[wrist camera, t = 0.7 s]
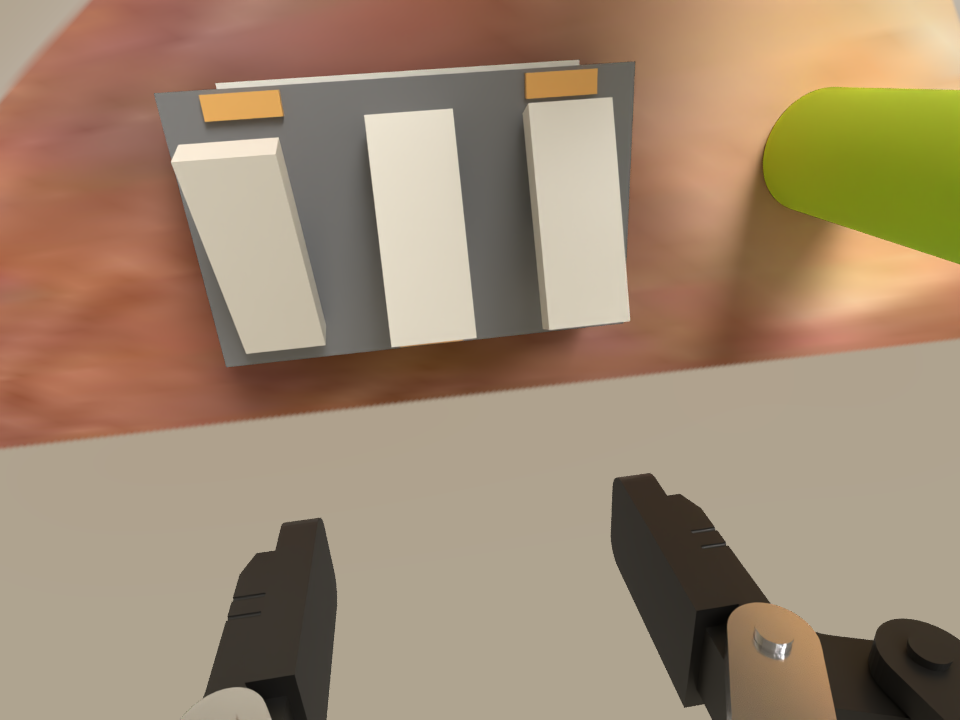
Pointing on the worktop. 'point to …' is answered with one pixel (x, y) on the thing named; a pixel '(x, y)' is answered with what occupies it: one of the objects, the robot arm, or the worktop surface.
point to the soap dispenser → (873, 163)
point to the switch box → (349, 193)
